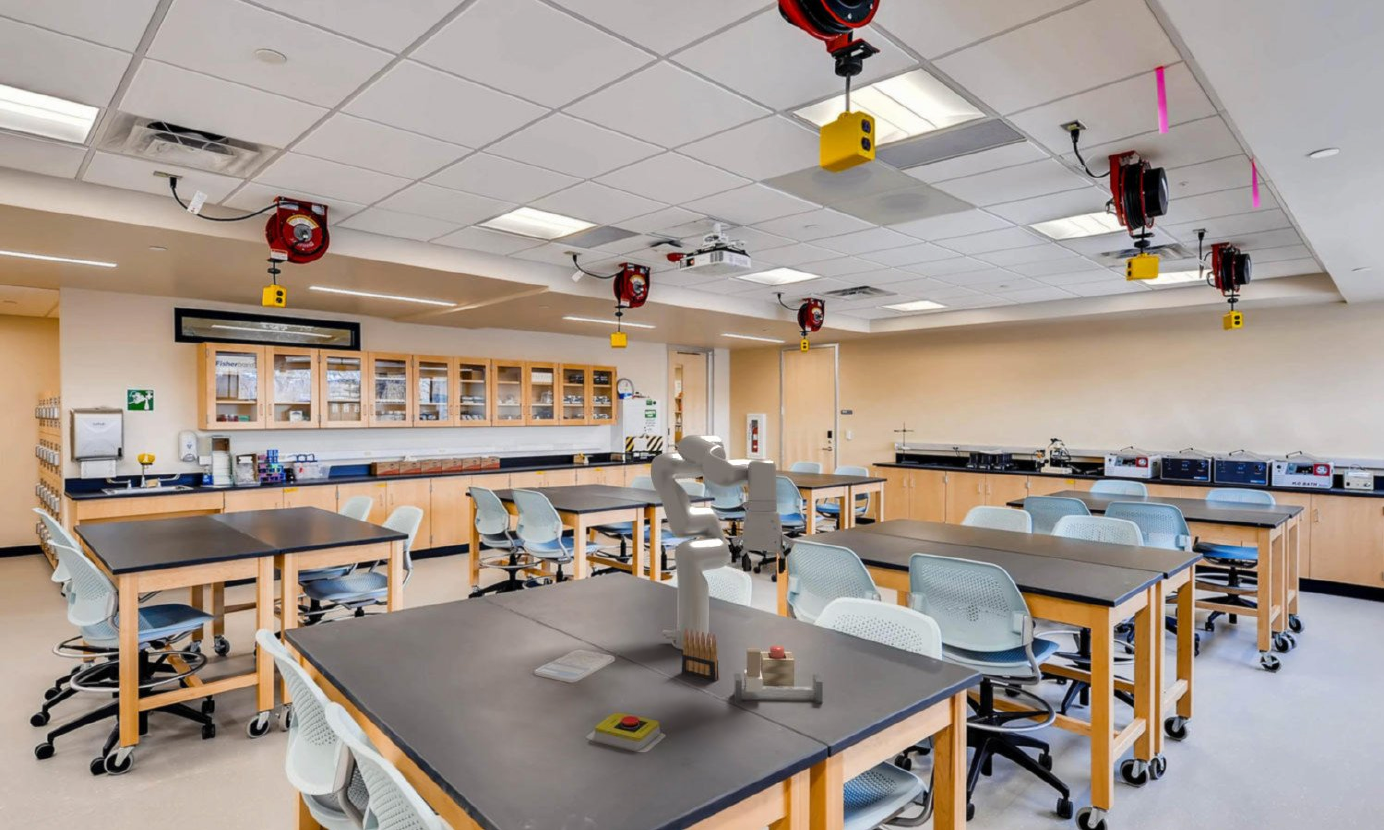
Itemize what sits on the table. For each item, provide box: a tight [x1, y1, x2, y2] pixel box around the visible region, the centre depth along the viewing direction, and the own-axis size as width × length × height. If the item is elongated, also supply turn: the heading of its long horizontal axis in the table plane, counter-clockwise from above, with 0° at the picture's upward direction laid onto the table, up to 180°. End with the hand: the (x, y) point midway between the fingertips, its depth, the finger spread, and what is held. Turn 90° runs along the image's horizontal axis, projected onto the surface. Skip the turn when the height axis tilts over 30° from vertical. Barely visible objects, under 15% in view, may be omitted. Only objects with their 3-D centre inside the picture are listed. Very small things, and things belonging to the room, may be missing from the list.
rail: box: [733, 672, 824, 704], centre depth 168 cm, size 21×5×5 cm, turn 90°
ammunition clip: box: [681, 628, 720, 683], centre depth 182 cm, size 11×2×12 cm, turn 56°
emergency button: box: [586, 712, 666, 754], centre depth 146 cm, size 9×4×15 cm
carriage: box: [743, 647, 763, 692], centre depth 168 cm, size 4×6×9 cm, turn 0°
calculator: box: [534, 649, 616, 684], centre depth 188 cm, size 13×20×2 cm, turn 153°
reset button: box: [769, 645, 785, 659], centre depth 178 cm, size 4×4×4 cm
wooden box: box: [760, 651, 795, 687], centre depth 178 cm, size 8×6×7 cm
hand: (763, 571), depth 182 cm, fingers open, 9 cm apart
